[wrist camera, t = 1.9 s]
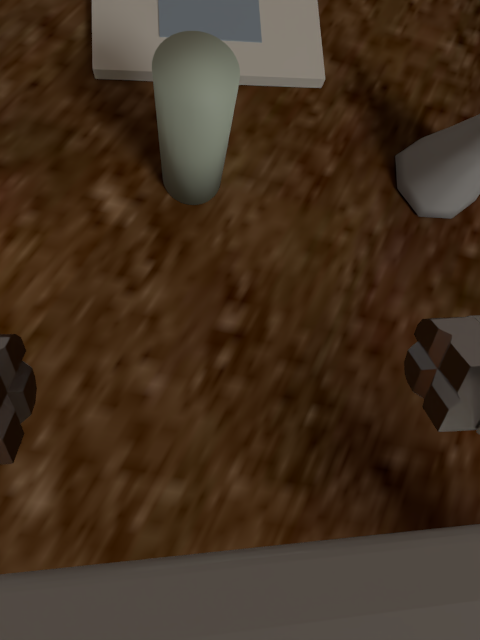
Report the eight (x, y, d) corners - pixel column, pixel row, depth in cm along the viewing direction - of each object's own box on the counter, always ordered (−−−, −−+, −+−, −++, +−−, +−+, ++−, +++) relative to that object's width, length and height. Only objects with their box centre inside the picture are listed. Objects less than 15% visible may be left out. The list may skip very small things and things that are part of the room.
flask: (454, 131, 35) (558, 34, 26) (486, 209, 35) (605, 139, 25) (380, 150, 34) (459, 55, 24) (411, 231, 33) (506, 166, 24)
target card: (95, 78, 32) (92, 67, 30) (93, -77, 34) (90, -92, 33) (321, 88, 34) (325, 78, 33) (306, -57, 36) (310, -70, 35)
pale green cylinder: (163, 205, 31) (153, 108, 20) (161, 150, 31) (150, 28, 21) (222, 204, 31) (242, 111, 21) (219, 151, 32) (237, 33, 21)
